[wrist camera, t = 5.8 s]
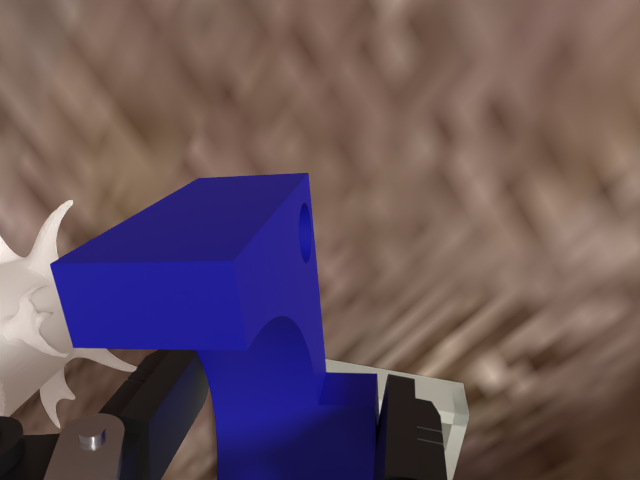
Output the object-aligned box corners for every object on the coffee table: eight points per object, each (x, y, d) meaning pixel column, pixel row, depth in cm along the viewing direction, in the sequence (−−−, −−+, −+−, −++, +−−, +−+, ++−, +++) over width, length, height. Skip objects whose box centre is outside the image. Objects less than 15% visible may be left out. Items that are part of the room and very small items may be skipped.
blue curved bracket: (385, 527, 16) (374, 768, 11) (254, 517, 17) (182, 736, 12) (366, 170, 12) (335, 258, 7) (198, 178, 13) (49, 264, 8)
